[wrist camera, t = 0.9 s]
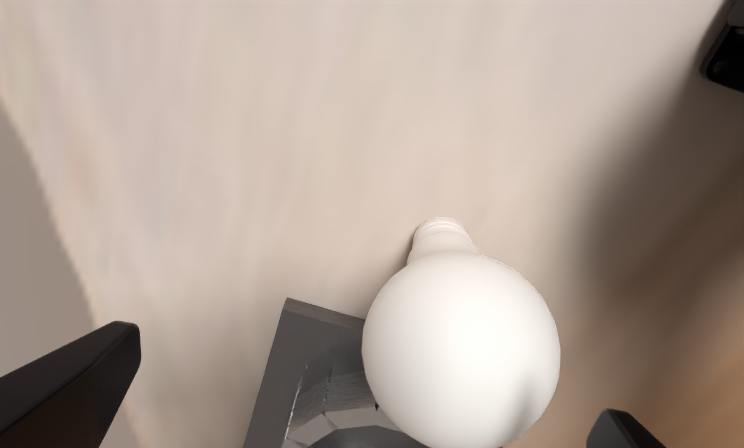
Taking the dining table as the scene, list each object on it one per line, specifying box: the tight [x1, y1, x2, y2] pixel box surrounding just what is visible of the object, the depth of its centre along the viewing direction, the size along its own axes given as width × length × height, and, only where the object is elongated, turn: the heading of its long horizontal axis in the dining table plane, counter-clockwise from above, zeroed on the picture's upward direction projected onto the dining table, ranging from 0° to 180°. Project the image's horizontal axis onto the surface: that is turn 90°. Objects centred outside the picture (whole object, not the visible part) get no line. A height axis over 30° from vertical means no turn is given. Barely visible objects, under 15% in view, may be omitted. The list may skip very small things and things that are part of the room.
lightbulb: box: [362, 217, 561, 448], centre depth 17 cm, size 6×6×11 cm
